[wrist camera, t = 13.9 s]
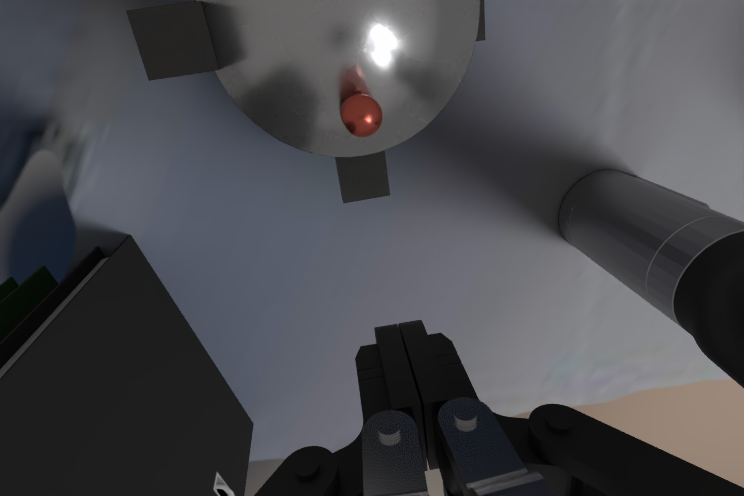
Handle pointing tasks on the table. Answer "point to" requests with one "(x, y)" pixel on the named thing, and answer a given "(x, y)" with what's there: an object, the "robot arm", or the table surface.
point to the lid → (319, 63)
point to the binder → (112, 389)
